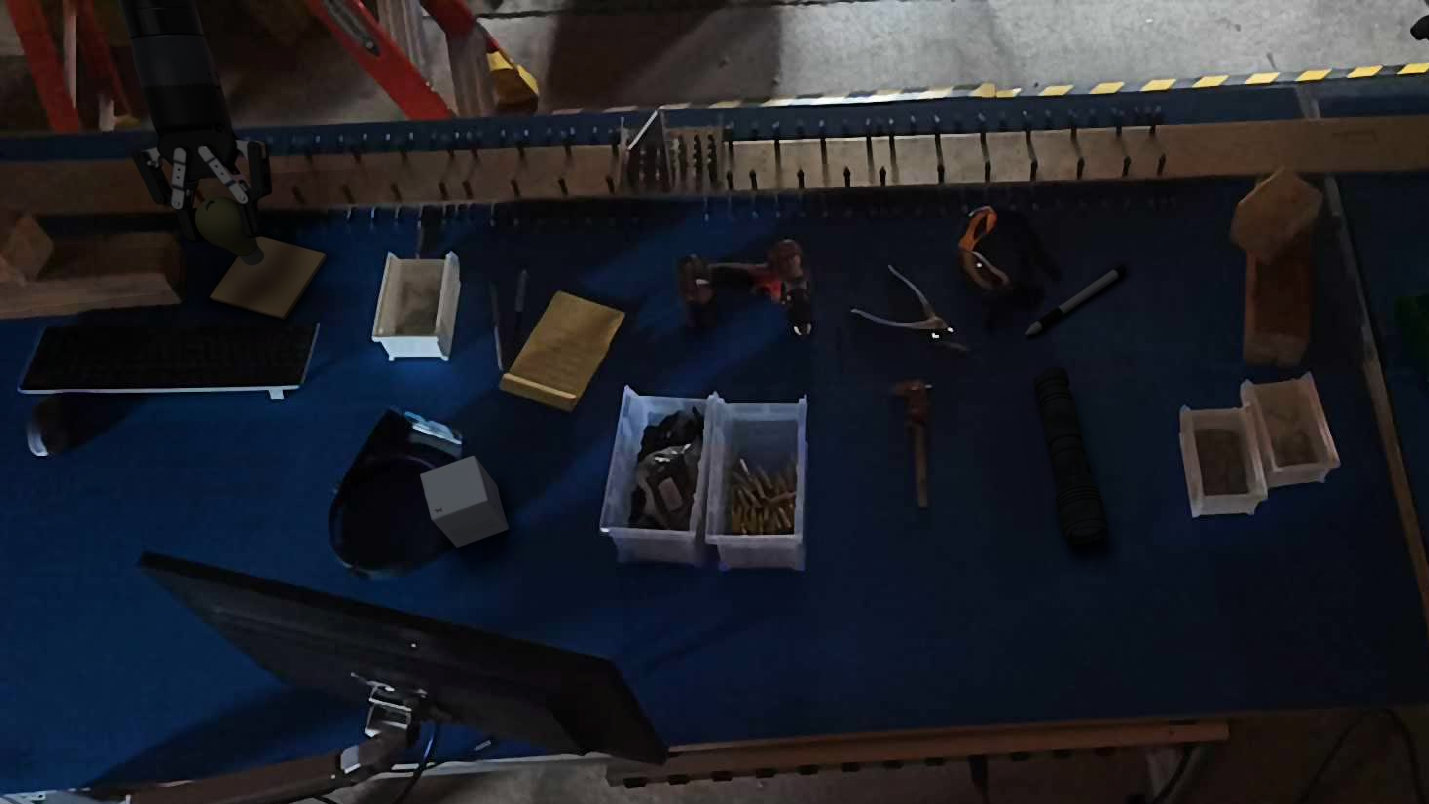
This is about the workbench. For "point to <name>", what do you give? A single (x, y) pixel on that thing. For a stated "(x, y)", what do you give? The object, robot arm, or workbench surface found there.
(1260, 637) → the workbench surface
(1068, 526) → the flashlight
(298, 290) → the mat
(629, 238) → the workbench surface
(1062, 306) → the pen
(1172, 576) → the workbench surface
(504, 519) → the product box
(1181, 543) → the workbench surface
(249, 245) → the light bulb
